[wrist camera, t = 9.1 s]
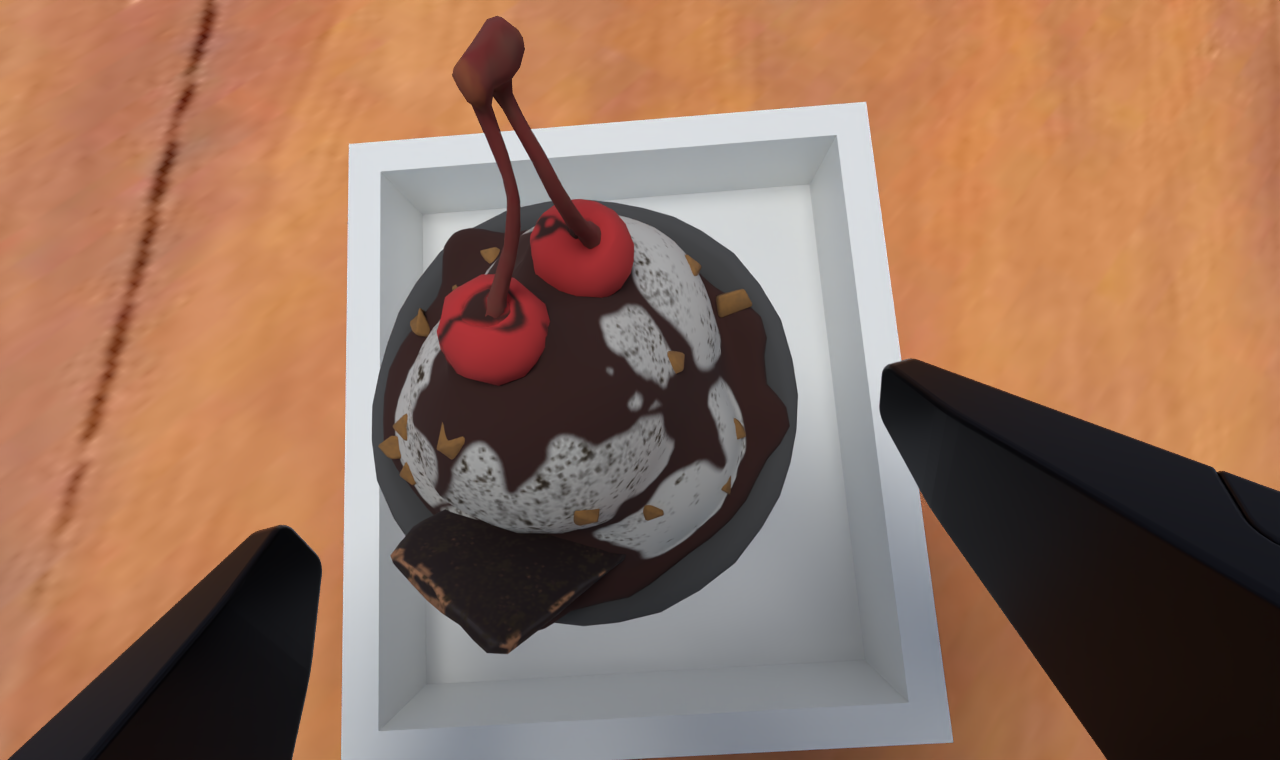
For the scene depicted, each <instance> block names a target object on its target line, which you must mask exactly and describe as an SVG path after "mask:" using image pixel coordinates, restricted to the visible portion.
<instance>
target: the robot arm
mask: <svg viewBox="0 0 1280 760" xmlns="http://www.w3.org/2000/svg"><path fill="white" fill-rule="evenodd" d="M879 411H880V416H881V419H882V421H883V423H884V425H885V427H886V429H887V431H888V433H889V434H890V436H891V438H892V440H893V442H894V444H895V445H896V447H897V449H898V451H899V453H900V455H901V456H902V458H903V460H904V462H905V464H906V466H907V467H908V469H909V471H910V473H911V475H912V477H913V478H914V480H915V482H916V484H917V486H918V487H919V489H920V491H921V493H922V495H923V496H924V498H925V500H926V502H927V503H928V505H929V507H930V508H931V510H932V511H933V513H934V514H935V516H936V517H937V519H938V520H939V522H940V523H941V525H942V526H943V527H944V529H945V530H946V532H947V533H948V535H949V536H950V537H951V539H952V540H953V542H954V543H955V544H956V546H957V547H958V549H959V550H960V552H961V553H962V554H963V556H964V557H965V559H966V560H967V561H968V563H969V564H970V566H971V567H972V569H973V570H974V571H975V573H976V574H977V576H978V577H979V579H980V580H981V581H982V583H983V584H984V586H985V587H986V588H987V590H988V591H989V593H990V594H991V596H992V597H993V598H994V600H995V601H996V603H997V604H998V605H999V607H1000V608H1001V610H1002V611H1003V613H1004V614H1005V615H1006V617H1007V618H1008V620H1009V621H1010V623H1011V624H1012V625H1013V627H1014V628H1015V630H1016V631H1017V632H1018V634H1019V635H1020V637H1021V638H1022V640H1023V641H1024V642H1025V644H1026V645H1027V647H1028V648H1029V649H1030V651H1031V652H1032V654H1033V655H1034V657H1035V658H1036V659H1037V661H1038V662H1039V664H1040V665H1041V667H1042V668H1043V669H1044V671H1045V672H1046V674H1047V675H1048V676H1049V678H1050V679H1051V681H1052V682H1053V684H1054V685H1055V686H1056V688H1057V689H1058V691H1059V692H1060V693H1061V695H1062V696H1063V698H1064V699H1065V701H1066V702H1067V703H1068V705H1069V706H1070V708H1071V709H1072V710H1073V712H1074V713H1075V715H1076V716H1077V718H1078V719H1079V720H1080V722H1081V723H1082V725H1083V726H1084V728H1085V729H1086V730H1087V732H1088V733H1089V735H1090V736H1091V737H1092V739H1093V740H1094V742H1095V743H1096V745H1097V746H1098V747H1099V749H1100V750H1101V752H1102V753H1103V754H1104V756H1105V757H1106V759H1107V760H1280V491H1277V490H1274V489H1272V488H1269V487H1266V486H1263V485H1260V484H1258V483H1255V482H1252V481H1249V480H1247V479H1244V478H1241V477H1238V476H1236V475H1233V474H1230V473H1228V472H1225V471H1219V472H1216V470H1215V469H1214V468H1213V467H1211V466H1208V465H1205V464H1202V463H1200V462H1197V461H1194V460H1191V459H1189V458H1186V457H1183V456H1180V455H1178V454H1175V453H1172V452H1169V451H1167V450H1164V449H1161V448H1158V447H1156V446H1153V445H1150V444H1147V443H1145V442H1142V441H1139V440H1137V439H1134V438H1131V437H1128V436H1126V435H1123V434H1120V433H1117V432H1115V431H1112V430H1109V429H1106V428H1104V427H1101V426H1098V425H1095V424H1093V423H1090V422H1087V421H1084V420H1082V419H1079V418H1076V417H1073V416H1071V415H1068V414H1065V413H1062V412H1060V411H1057V410H1054V409H1051V408H1049V407H1046V406H1043V405H1041V404H1038V403H1035V402H1032V401H1030V400H1027V399H1024V398H1021V397H1019V396H1016V395H1013V394H1010V393H1008V392H1005V391H1002V390H999V389H997V388H994V387H991V386H988V385H986V384H983V383H980V382H977V381H975V380H972V379H969V378H966V377H964V376H961V375H958V374H956V373H953V372H950V371H947V370H945V369H942V368H939V367H936V366H934V365H931V364H928V363H925V362H923V361H920V360H917V359H906V360H902V361H898V362H894V363H891V364H888V365H886V366H885V367H884V368H883V371H882V376H881V388H880V401H879ZM321 577H322V566H321V562H320V559H319V557H318V555H317V554H316V553H315V552H314V551H313V550H312V549H311V548H310V547H309V546H308V545H307V544H306V542H305V541H304V540H303V539H302V538H301V537H300V536H299V535H298V534H297V533H296V532H295V531H294V530H293V529H292V528H291V527H289V526H286V525H278V526H274V527H270V528H266V529H263V530H259V531H257V532H255V533H253V534H251V535H250V536H249V537H248V538H247V539H246V540H245V541H244V542H243V543H241V544H240V545H239V546H238V547H237V548H236V549H235V550H234V551H233V552H232V553H231V554H230V555H228V556H227V557H226V558H225V559H224V560H223V561H222V562H221V563H220V564H219V565H218V566H217V567H216V568H214V569H213V570H212V571H211V572H210V573H209V574H208V575H207V576H206V577H205V578H204V579H203V580H201V581H200V582H199V583H198V584H197V585H196V586H195V587H194V588H193V589H192V590H191V591H190V592H188V593H187V594H186V595H185V596H184V597H183V598H182V599H181V600H180V601H179V602H178V603H177V604H175V605H174V606H173V607H172V608H171V609H170V610H169V611H168V612H167V613H166V614H165V615H164V616H163V617H161V618H160V619H159V620H158V621H157V622H156V623H155V624H154V625H153V626H152V627H151V628H150V629H148V630H147V631H146V632H145V633H144V634H143V635H142V636H141V637H140V638H139V639H138V640H137V641H135V642H134V643H133V644H132V645H131V646H130V647H129V648H128V649H127V650H126V651H125V652H124V653H122V654H121V655H120V656H119V657H118V658H117V659H116V660H115V661H114V662H113V663H112V664H111V665H110V666H108V667H107V668H106V669H105V670H104V671H103V672H102V673H101V674H100V675H99V676H98V677H97V678H95V679H94V680H93V681H92V682H91V683H90V684H89V685H88V686H87V687H86V688H85V689H84V690H82V691H81V692H80V693H79V694H78V695H77V696H76V697H75V698H74V699H73V700H72V701H71V702H69V703H68V704H67V705H66V706H65V707H64V708H63V709H62V710H61V711H60V712H59V713H58V714H57V715H55V716H54V717H53V718H52V719H51V720H50V721H49V722H48V723H47V724H46V725H45V726H44V727H42V728H41V729H40V730H39V731H38V732H37V733H36V734H35V735H34V736H33V737H32V738H31V739H29V740H28V741H27V742H26V743H25V744H24V745H23V746H22V747H21V748H20V749H19V750H18V751H16V752H15V753H14V754H13V755H12V756H11V757H10V758H9V759H8V760H292V757H293V752H294V747H295V743H296V738H297V734H298V729H299V724H300V720H301V715H302V711H303V706H304V701H305V697H306V692H307V687H308V682H309V677H310V671H311V664H312V657H313V649H314V640H315V631H316V622H317V613H318V604H319V595H320V586H321Z"/></svg>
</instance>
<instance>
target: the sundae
mask: <svg viewBox="0 0 1280 760" xmlns="http://www.w3.org/2000/svg"><path fill="white" fill-rule="evenodd" d="M524 50H525V48H524V42H523V37H522V36H521V34H520V32H519V31H518V30H517V29H516V28H515V27H514V26H512V25H511V24H510V23H508V22H507V21H506V20H505V19H503V18H502V17H498V16H495V17H493V18H490V19H487V20H486V22H485V23H484V25H483V26H482V28H481V30H480V31H479V33H478V34H477V36H476V37H475V39H474V40H473V42H472V43H471V45H470V46H469V47H468V49H467V50H466V51H465V53H464V54H463V56H462V57H461V58H460V60H459V61H458V62H457V64H456V65H455V67H454V70H453V74H452V76H453V78H454V80H455V82H456V84H457V86H458V88H459V90H460V91H461V93H462V94H463V96H464V97H465V99H466V100H467V102H468V103H470V104H471V105H472V107H473V109H474V111H475V114H476V116H477V118H478V120H479V123H480V125H481V127H482V130H483V132H484V134H485V137H486V139H487V141H488V144H489V146H490V149H491V151H492V154H493V156H494V158H495V161H496V163H497V166H498V168H499V171H500V173H501V175H502V179H503V183H504V188H505V192H506V197H507V211H505V212H503V213H501V214H499V215H497V216H495V217H493V218H491V219H489V220H487V221H485V222H483V223H481V224H479V225H477V226H475V227H473V228H467V229H462V230H459V231H457V232H455V233H454V234H453V235H452V236H451V237H450V238H449V239H448V241H447V242H446V244H445V246H444V249H443V250H442V251H440V253H439V254H438V255H437V256H436V258H435V259H434V260H433V262H432V263H431V264H430V265H429V267H428V268H427V269H426V271H425V272H424V273H423V274H422V276H421V277H420V278H419V280H418V281H417V282H416V283H415V285H414V287H413V289H412V290H411V292H410V294H409V295H408V297H407V299H406V301H405V302H404V304H403V306H402V307H401V309H400V311H399V313H398V316H397V318H396V321H395V324H394V327H393V329H392V332H391V335H390V338H389V340H388V343H387V347H386V350H385V354H384V357H383V361H382V364H381V368H380V371H379V375H378V380H377V385H376V390H375V395H374V399H373V404H372V447H373V455H374V462H375V470H376V478H377V482H378V484H379V486H380V489H381V491H382V493H383V495H384V498H385V500H386V502H387V504H388V507H389V509H390V511H391V513H392V516H393V518H394V520H395V521H396V523H397V524H398V526H399V527H400V529H401V530H402V532H403V533H404V535H405V537H404V539H403V540H402V541H401V542H400V543H399V544H398V546H397V547H396V549H395V550H394V551H393V553H392V554H391V555H390V556H391V559H392V562H393V564H394V565H395V566H396V567H397V568H398V570H399V571H400V572H401V573H402V574H403V575H404V576H405V577H406V578H407V580H408V581H409V582H410V583H411V584H412V585H413V586H414V587H415V588H416V589H417V590H418V591H419V593H420V594H421V595H422V596H423V597H424V598H425V599H426V600H427V601H428V602H429V603H430V604H432V605H433V606H434V607H435V608H436V609H437V610H439V611H440V612H441V613H442V614H444V615H445V616H447V617H448V618H450V619H451V620H453V621H454V622H456V623H457V624H459V625H460V626H461V627H462V628H463V630H464V631H465V632H466V633H467V634H468V635H469V636H470V638H471V639H472V640H473V641H474V642H475V643H476V644H478V645H479V646H480V647H481V648H482V649H483V650H484V651H485V652H486V653H493V654H509V653H510V652H511V651H512V650H514V649H515V648H516V647H518V646H519V645H520V644H522V643H523V642H524V641H526V640H527V639H528V638H529V637H531V636H532V635H533V634H534V633H536V632H537V631H538V630H543V629H545V628H547V627H548V626H550V625H552V624H553V623H560V624H568V625H577V626H591V625H601V624H611V623H619V622H624V621H628V620H632V619H636V618H640V617H644V616H648V615H652V614H656V613H660V612H663V611H664V610H666V609H668V608H670V607H671V606H673V605H675V604H677V603H679V602H680V601H682V600H684V599H686V598H687V597H689V596H691V595H693V594H695V593H696V592H698V591H700V590H701V589H702V588H704V587H705V586H706V585H708V584H709V583H710V582H711V581H713V580H714V579H715V578H717V577H718V576H719V575H720V574H722V573H723V572H724V571H726V570H727V569H728V568H730V567H731V566H732V565H733V564H735V563H736V561H737V560H738V559H739V557H740V556H741V555H742V553H743V552H744V551H745V549H746V548H747V547H748V545H749V544H750V543H751V542H752V540H753V539H754V538H755V536H756V535H757V534H758V532H759V531H760V530H761V528H762V527H763V525H764V523H765V521H766V520H767V518H768V516H769V514H770V513H771V511H772V509H773V508H774V506H775V504H776V502H777V501H778V499H779V497H780V494H781V491H782V488H783V485H784V482H785V479H786V476H787V473H788V469H789V466H790V463H791V458H792V452H793V447H794V441H795V436H796V429H797V408H798V391H797V385H796V378H795V372H794V366H793V360H792V356H791V353H790V349H789V346H788V342H787V339H786V335H785V332H784V328H783V325H782V321H781V319H780V317H779V315H778V314H777V312H776V310H775V309H774V307H773V305H772V304H771V302H770V300H769V299H768V297H767V295H766V294H765V292H764V290H763V289H762V287H761V285H760V284H759V283H758V281H757V280H756V279H755V278H754V277H753V275H752V274H751V273H750V272H749V271H748V269H747V268H746V267H745V266H744V265H743V263H742V262H741V261H740V260H739V258H738V257H737V256H736V255H735V254H734V253H733V252H732V251H730V250H729V249H727V248H726V247H724V246H723V245H722V244H720V243H719V242H717V241H716V240H714V239H713V238H712V237H710V236H709V235H707V234H706V233H704V232H703V231H701V230H699V229H697V228H695V227H693V226H691V225H689V224H687V223H685V222H684V221H682V220H680V219H678V218H676V217H674V216H670V215H667V214H663V213H659V212H656V211H652V210H649V209H645V208H641V207H636V206H630V205H625V204H620V203H614V202H605V201H595V200H585V199H572V200H571V199H570V197H569V196H568V194H567V192H566V191H565V189H564V188H563V186H562V184H561V182H560V180H559V178H558V177H557V175H556V173H555V171H554V169H553V167H552V165H551V163H550V161H549V159H548V158H547V156H546V154H545V152H544V150H543V149H542V147H541V145H540V144H539V142H538V140H537V138H536V137H535V135H534V133H533V132H532V130H531V128H530V127H529V125H528V123H527V121H526V120H525V118H524V116H523V114H522V112H521V110H520V108H519V106H518V104H517V102H516V100H515V98H514V95H513V93H512V78H513V76H514V75H515V73H516V72H517V71H518V69H519V68H520V66H521V62H522V58H523V54H524ZM493 97H494V98H495V100H496V101H497V102H498V104H499V105H500V106H501V108H502V109H503V111H504V112H505V114H506V116H507V118H508V120H509V122H510V124H511V125H512V127H513V129H514V131H515V133H516V134H517V136H518V138H519V140H520V142H521V143H522V145H523V147H524V149H525V151H526V152H527V154H528V156H529V158H530V160H531V161H532V163H533V165H534V167H535V169H536V171H537V174H538V176H539V178H540V179H541V181H542V183H543V185H544V187H545V189H546V191H547V193H548V195H549V197H550V199H551V200H552V201H549V202H543V203H538V204H533V205H529V206H524V207H520V197H519V192H518V188H517V183H516V179H515V176H514V172H513V169H512V165H511V161H510V158H509V154H508V151H507V149H506V146H505V143H504V140H503V137H502V135H501V132H500V129H499V126H498V123H497V120H496V117H495V114H494V111H493V108H492V98H493Z"/></svg>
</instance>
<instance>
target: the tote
mask: <svg viewBox="0 0 1280 760" xmlns="http://www.w3.org/2000/svg"><path fill="white" fill-rule="evenodd" d="M531 130H532V132H533V133H534V135H535V137H536V138H537V140H538V142H539V144H540V145H541V147H542V149H543V150H544V152H545V154H546V156H547V158H548V159H549V161H550V163H551V165H552V167H553V169H554V171H555V173H556V175H557V177H558V178H559V180H560V182H561V184H562V186H563V188H564V189H565V191H566V192H567V194H568V196H569V197H570V199H571V200H572V199H585V200H595V201H605V202H614V203H620V204H625V205H630V206H636V207H641V208H645V209H649V210H652V211H656V212H659V213H663V214H667V215H670V216H674V217H676V218H678V219H680V220H682V221H684V222H685V223H687V224H689V225H691V226H693V227H695V228H697V229H699V230H701V231H703V232H704V233H706V234H707V235H709V236H710V237H712V238H713V239H714V240H716V241H717V242H719V243H720V244H722V245H723V246H724V247H726V248H727V249H729V250H730V251H732V252H733V253H734V254H735V255H736V256H737V257H738V258H739V260H740V261H741V262H742V263H743V265H744V266H745V267H746V268H747V269H748V271H749V272H750V273H751V274H752V275H753V277H754V278H755V279H756V280H757V281H758V283H759V284H760V285H761V287H762V289H763V290H764V292H765V294H766V295H767V297H768V299H769V300H770V302H771V304H772V305H773V307H774V309H775V310H776V312H777V314H778V315H779V317H780V319H781V321H782V325H783V328H784V332H785V335H786V339H787V342H788V346H789V349H790V353H791V356H792V360H793V366H794V372H795V378H796V385H797V391H798V408H797V429H796V436H795V441H794V447H793V452H792V458H791V463H790V466H789V469H788V473H787V476H786V479H785V482H784V485H783V488H782V491H781V494H780V497H779V499H778V501H777V502H776V504H775V506H774V508H773V509H772V511H771V513H770V514H769V516H768V518H767V520H766V521H765V523H764V525H763V527H762V528H761V530H760V531H759V532H758V534H757V535H756V536H755V538H754V539H753V540H752V542H751V543H750V544H749V545H748V547H747V548H746V549H745V551H744V552H743V553H742V555H741V556H740V557H739V559H738V560H737V561H736V563H735V564H733V565H732V566H731V567H730V568H728V569H727V570H726V571H724V572H723V573H722V574H720V575H719V576H718V577H717V578H715V579H714V580H713V581H711V582H710V583H709V584H708V585H706V586H705V587H704V588H702V589H701V590H700V591H698V592H696V593H695V594H693V595H691V596H689V597H687V598H686V599H684V600H682V601H680V602H679V603H677V604H675V605H673V606H671V607H670V608H668V609H666V610H664V611H663V612H660V613H656V614H652V615H648V616H644V617H640V618H636V619H632V620H628V621H624V622H619V623H611V624H601V625H591V626H577V625H568V624H560V623H553V624H552V625H550V626H548V627H547V628H545V629H543V630H538V631H537V632H536V633H534V634H533V635H532V636H531V637H529V638H528V639H527V640H526V641H524V642H523V643H522V644H520V645H519V646H518V647H516V648H515V649H514V650H512V651H511V652H510V653H509V654H493V653H486V652H485V651H484V650H483V649H482V648H481V647H480V646H479V645H478V644H476V643H475V642H474V641H473V640H472V639H471V638H470V636H469V635H468V634H467V633H466V632H465V631H464V630H463V628H462V627H461V626H460V625H459V624H457V623H456V622H454V621H453V620H451V619H450V618H448V617H447V616H445V615H444V614H442V613H441V612H440V611H439V610H437V609H436V608H435V607H434V606H433V605H432V604H430V603H429V602H428V601H427V600H426V599H425V598H424V597H423V596H422V595H421V594H420V593H419V591H418V590H417V589H416V588H415V587H414V586H413V585H412V584H411V583H410V582H409V581H408V580H407V578H406V577H405V576H404V575H403V574H402V573H401V572H400V571H399V570H398V568H397V567H396V566H395V565H394V564H393V562H392V559H391V556H390V555H391V554H392V553H393V551H394V550H395V549H396V547H397V546H398V544H399V543H400V542H401V541H402V540H403V539H404V537H405V535H404V533H403V532H402V530H401V529H400V527H399V526H398V524H397V523H396V521H395V520H394V518H393V516H392V513H391V511H390V509H389V507H388V504H387V502H386V500H385V498H384V495H383V493H382V491H381V489H380V486H379V484H378V482H377V478H376V470H375V462H374V455H373V447H372V404H373V399H374V395H375V390H376V385H377V380H378V375H379V371H380V368H381V364H382V361H383V357H384V354H385V350H386V347H387V343H388V340H389V338H390V335H391V332H392V329H393V327H394V324H395V321H396V318H397V316H398V313H399V311H400V309H401V307H402V306H403V304H404V302H405V301H406V299H407V297H408V295H409V294H410V292H411V290H412V289H413V287H414V285H415V283H416V282H417V281H418V280H419V278H420V277H421V276H422V274H423V273H424V272H425V271H426V269H427V268H428V267H429V265H430V264H431V263H432V262H433V260H434V259H435V258H436V256H437V255H438V254H439V253H440V251H442V250H443V249H444V246H445V244H446V242H447V241H448V239H449V238H450V237H451V236H452V235H453V234H454V233H455V232H457V231H459V230H462V229H467V228H473V227H475V226H477V225H479V224H481V223H483V222H485V221H487V220H489V219H491V218H493V217H495V216H497V215H499V214H501V213H503V212H505V211H507V197H506V192H505V188H504V183H503V179H502V175H501V173H500V171H499V168H498V166H497V163H496V161H495V158H494V156H493V154H492V151H491V149H490V146H489V144H488V141H487V139H486V137H485V134H484V133H480V134H467V135H455V136H443V137H431V138H418V139H406V140H394V141H382V142H370V143H357V144H349V186H348V265H347V343H346V421H345V500H344V578H343V657H342V735H341V760H624V759H643V758H663V757H682V756H701V755H721V754H740V753H759V752H779V751H798V750H817V749H837V748H856V747H875V746H895V745H914V744H934V743H953V736H952V728H951V721H950V714H949V706H948V699H947V692H946V684H945V677H944V670H943V662H942V655H941V648H940V641H939V633H938V626H937V619H936V611H935V604H934V597H933V589H932V582H931V575H930V567H929V560H928V553H927V545H926V538H925V531H924V523H923V516H922V509H921V501H920V494H919V487H918V486H917V484H916V482H915V480H914V478H913V477H912V475H911V473H910V471H909V469H908V467H907V466H906V464H905V462H904V460H903V458H902V456H901V455H900V453H899V451H898V449H897V447H896V445H895V444H894V442H893V440H892V438H891V436H890V434H889V433H888V431H887V429H886V427H885V425H884V423H883V421H882V419H881V416H880V411H879V401H880V388H881V376H882V371H883V368H884V367H885V366H886V365H888V364H891V363H894V362H898V361H901V355H900V347H899V340H898V333H897V325H896V318H895V311H894V303H893V296H892V289H891V281H890V274H889V267H888V259H887V252H886V245H885V237H884V230H883V223H882V215H881V208H880V201H879V193H878V186H877V179H876V171H875V164H874V157H873V149H872V142H871V135H870V127H869V120H868V113H867V105H866V102H859V103H847V104H834V105H822V106H810V107H798V108H785V109H773V110H761V111H749V112H736V113H724V114H712V115H700V116H688V117H675V118H663V119H651V120H639V121H626V122H614V123H602V124H590V125H577V126H565V127H553V128H541V129H531ZM501 135H502V137H503V140H504V143H505V146H506V149H507V151H508V154H509V158H510V161H511V165H512V169H513V172H514V176H515V179H516V183H517V188H518V192H519V197H520V207H524V206H529V205H533V204H538V203H543V202H549V201H552V200H551V199H550V197H549V195H548V193H547V191H546V189H545V187H544V185H543V183H542V181H541V179H540V178H539V176H538V174H537V171H536V169H535V167H534V165H533V163H532V161H531V160H530V158H529V156H528V154H527V152H526V151H525V149H524V147H523V145H522V143H521V142H520V140H519V138H518V136H517V134H516V133H515V131H504V132H501Z"/></svg>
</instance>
